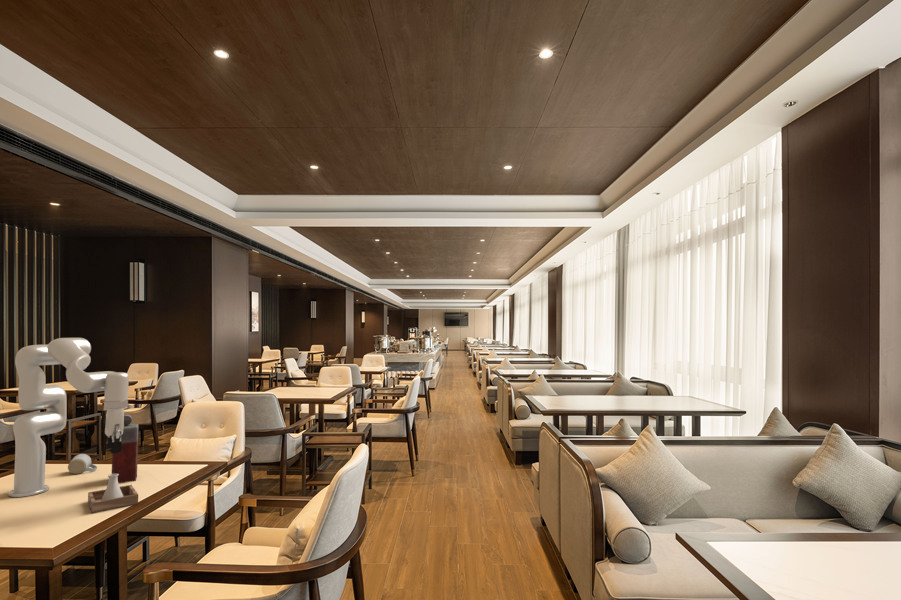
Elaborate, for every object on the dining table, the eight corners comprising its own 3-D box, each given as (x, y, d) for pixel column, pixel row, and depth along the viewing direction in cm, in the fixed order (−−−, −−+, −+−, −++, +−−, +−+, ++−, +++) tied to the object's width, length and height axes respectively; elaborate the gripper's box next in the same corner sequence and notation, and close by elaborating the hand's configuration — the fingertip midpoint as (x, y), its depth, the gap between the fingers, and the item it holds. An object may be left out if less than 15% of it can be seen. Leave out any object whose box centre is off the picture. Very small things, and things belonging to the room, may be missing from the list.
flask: (112, 505, 182) (112, 478, 183) (95, 504, 184) (96, 477, 184) (128, 498, 189) (129, 472, 190) (112, 497, 191) (113, 471, 191)
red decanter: (137, 474, 223) (139, 412, 225) (135, 480, 214) (137, 415, 215) (113, 477, 219) (115, 414, 221) (111, 484, 209) (113, 417, 211)
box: (87, 501, 188) (88, 492, 188) (131, 493, 197) (131, 484, 197) (92, 513, 176) (92, 503, 176) (138, 504, 185) (138, 494, 185)
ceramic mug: (66, 475, 222) (67, 458, 223) (71, 471, 229) (72, 454, 230) (94, 473, 227) (95, 456, 227) (98, 468, 234) (99, 452, 234)
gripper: (101, 403, 193) (99, 447, 192) (107, 408, 180) (105, 456, 179) (124, 401, 197) (122, 444, 196) (131, 406, 184) (129, 452, 183)
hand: (114, 450), depth 188 cm, fingers open, 9 cm apart
